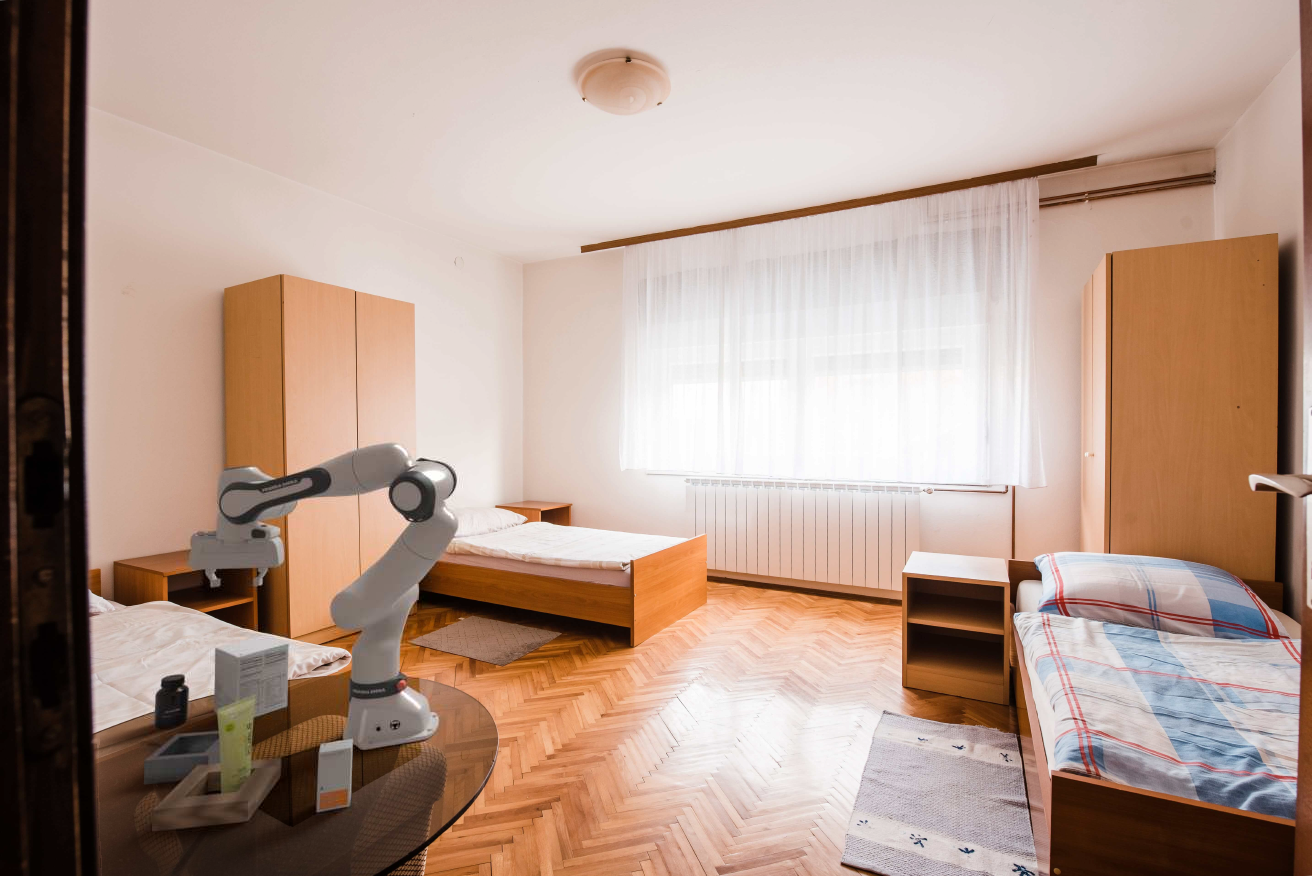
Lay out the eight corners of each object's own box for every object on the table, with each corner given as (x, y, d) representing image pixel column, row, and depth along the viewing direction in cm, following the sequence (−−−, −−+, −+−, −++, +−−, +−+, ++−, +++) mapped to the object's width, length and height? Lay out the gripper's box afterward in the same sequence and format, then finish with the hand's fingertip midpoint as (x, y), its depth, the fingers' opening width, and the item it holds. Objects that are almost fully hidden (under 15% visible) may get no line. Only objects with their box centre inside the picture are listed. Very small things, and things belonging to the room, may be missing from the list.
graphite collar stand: (234, 750, 142) (234, 729, 142) (207, 778, 130) (208, 755, 130) (176, 755, 139) (176, 734, 140) (143, 784, 128) (144, 760, 128)
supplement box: (288, 706, 166) (290, 643, 166) (235, 724, 155) (236, 657, 155) (265, 695, 173) (266, 634, 174) (212, 711, 162) (213, 647, 162)
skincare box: (316, 814, 119) (317, 753, 119) (318, 802, 122) (319, 743, 123) (350, 807, 121) (351, 747, 121) (351, 795, 125) (353, 737, 125)
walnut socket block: (280, 776, 132) (281, 758, 132) (247, 821, 116) (248, 800, 116) (197, 784, 128) (198, 765, 128) (152, 831, 113) (152, 809, 113)
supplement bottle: (168, 731, 151) (170, 683, 151) (147, 728, 152) (148, 681, 152) (194, 719, 158) (196, 673, 158) (173, 716, 159) (174, 671, 159)
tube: (243, 802, 122) (245, 705, 122) (214, 806, 121) (216, 708, 121) (253, 786, 127) (255, 694, 128) (226, 790, 126) (228, 697, 126)
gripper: (183, 533, 145) (182, 590, 145) (277, 531, 150) (276, 587, 149) (197, 529, 151) (196, 584, 151) (287, 528, 156) (285, 581, 156)
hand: (236, 585), depth 150 cm, fingers open, 8 cm apart
